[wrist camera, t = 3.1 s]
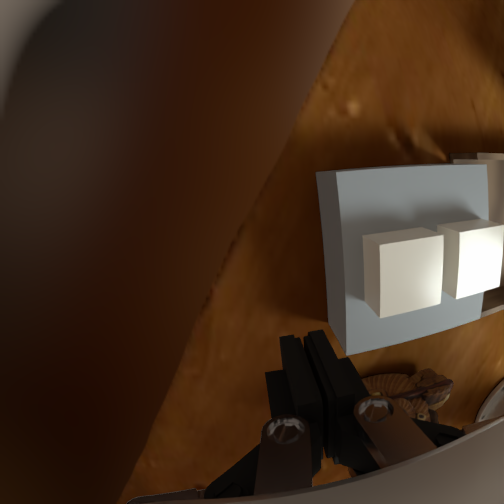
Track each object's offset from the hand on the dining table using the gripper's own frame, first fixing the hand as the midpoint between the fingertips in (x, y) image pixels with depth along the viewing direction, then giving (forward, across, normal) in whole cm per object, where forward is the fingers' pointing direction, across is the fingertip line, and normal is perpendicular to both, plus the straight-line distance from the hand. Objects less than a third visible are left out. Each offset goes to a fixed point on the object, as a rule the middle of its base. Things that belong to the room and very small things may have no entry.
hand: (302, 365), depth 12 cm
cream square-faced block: (+10, -16, 0) cm, 19 cm away
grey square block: (+16, -12, 0) cm, 20 cm away
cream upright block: (+10, -9, 0) cm, 14 cm away
